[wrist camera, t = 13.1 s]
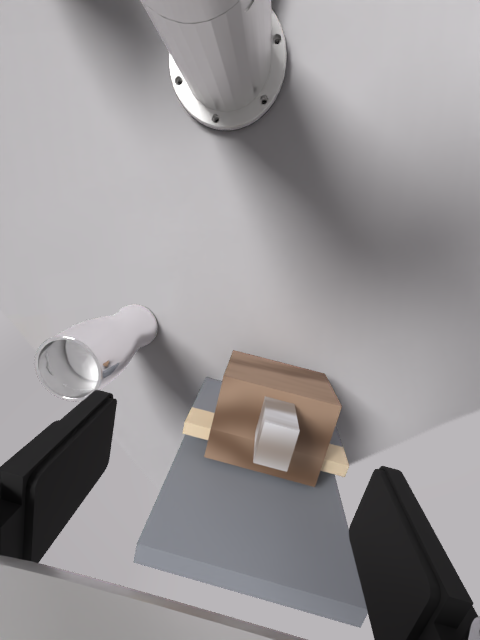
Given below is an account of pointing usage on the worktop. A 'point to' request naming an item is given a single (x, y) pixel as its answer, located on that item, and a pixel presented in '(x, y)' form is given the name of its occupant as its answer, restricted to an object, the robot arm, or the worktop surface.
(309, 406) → the walnut cabinet
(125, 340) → the beer glass
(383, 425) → the worktop surface
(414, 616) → the robot arm
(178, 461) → the wall board
